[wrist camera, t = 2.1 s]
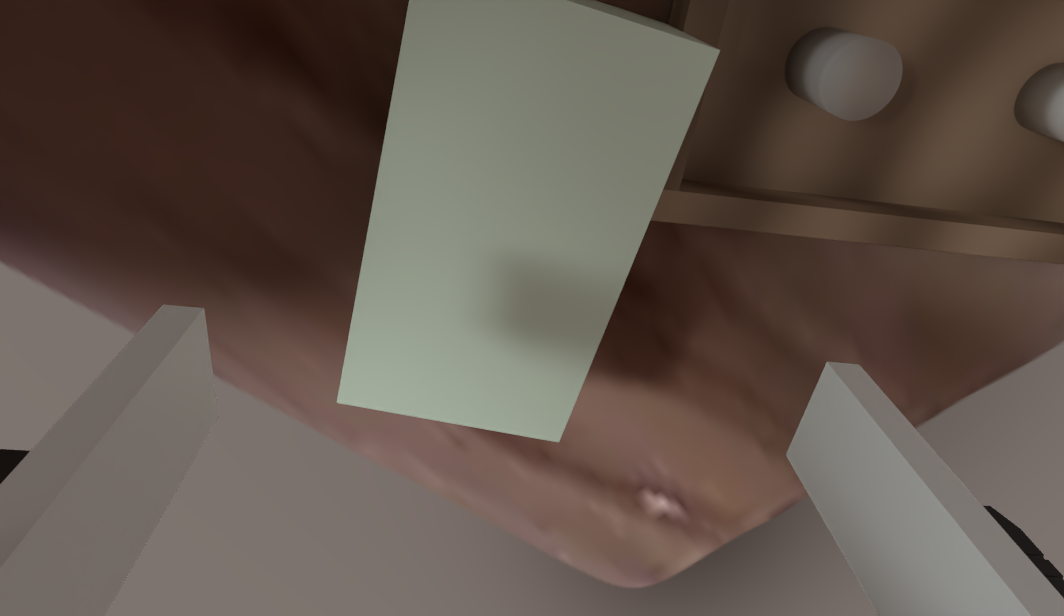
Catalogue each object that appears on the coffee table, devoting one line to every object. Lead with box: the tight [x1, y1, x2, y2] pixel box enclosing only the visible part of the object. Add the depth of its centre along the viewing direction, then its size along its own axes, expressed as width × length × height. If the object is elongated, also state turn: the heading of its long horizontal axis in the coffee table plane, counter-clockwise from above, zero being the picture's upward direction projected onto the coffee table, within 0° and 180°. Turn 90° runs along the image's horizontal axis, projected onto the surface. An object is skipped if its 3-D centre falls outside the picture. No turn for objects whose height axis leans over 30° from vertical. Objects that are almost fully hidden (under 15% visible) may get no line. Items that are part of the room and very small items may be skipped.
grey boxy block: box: [337, 0, 720, 442], centre depth 22 cm, size 14×8×6 cm, turn 164°
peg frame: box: [651, 0, 1064, 264], centre depth 21 cm, size 20×16×4 cm
